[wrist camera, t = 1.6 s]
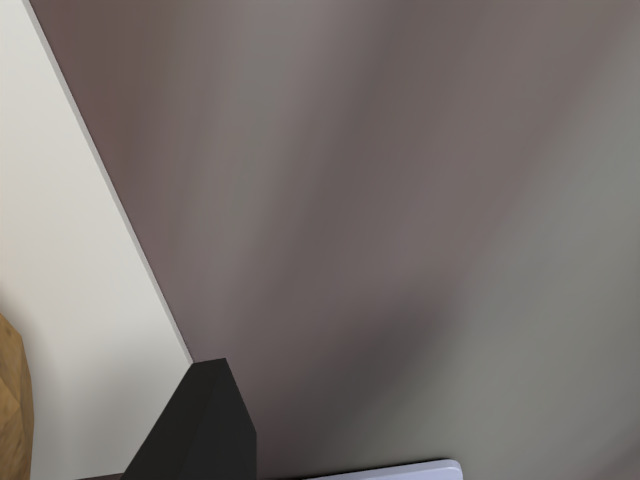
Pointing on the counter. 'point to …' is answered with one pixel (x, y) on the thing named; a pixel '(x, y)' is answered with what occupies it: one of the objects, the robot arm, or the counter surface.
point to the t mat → (74, 274)
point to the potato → (15, 406)
